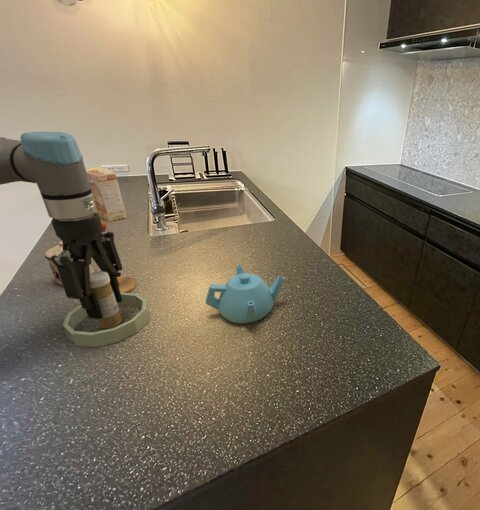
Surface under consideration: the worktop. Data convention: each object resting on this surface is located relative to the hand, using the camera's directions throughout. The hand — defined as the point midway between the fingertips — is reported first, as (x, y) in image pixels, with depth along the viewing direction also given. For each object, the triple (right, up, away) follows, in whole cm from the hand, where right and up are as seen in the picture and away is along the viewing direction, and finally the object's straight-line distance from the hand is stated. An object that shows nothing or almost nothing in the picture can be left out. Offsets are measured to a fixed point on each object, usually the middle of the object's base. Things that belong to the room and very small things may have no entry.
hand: (106, 308), depth 71 cm
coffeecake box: (-45, +29, +61) cm, 81 cm away
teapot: (+30, -2, +11) cm, 32 cm away
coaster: (-9, +3, +15) cm, 17 cm away
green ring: (0, -4, +2) cm, 4 cm away
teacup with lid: (-21, +5, +17) cm, 28 cm away
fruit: (-37, +20, +43) cm, 60 cm away
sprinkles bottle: (0, -4, +2) cm, 5 cm away
